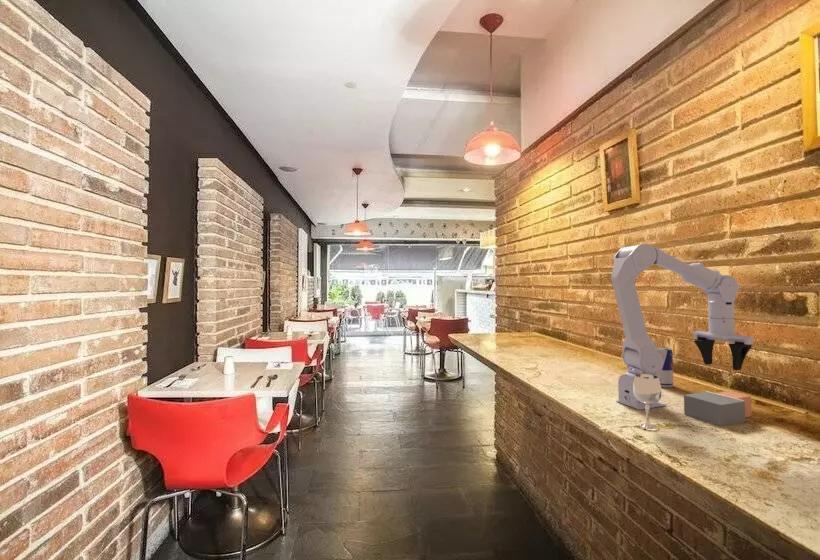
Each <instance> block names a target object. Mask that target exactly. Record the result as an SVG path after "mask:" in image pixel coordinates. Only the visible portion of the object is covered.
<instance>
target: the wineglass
mask: <svg viewBox="0 0 820 560" xmlns="http://www.w3.org/2000/svg"><path fill="white" fill-rule="evenodd" d="M633 394H634V396H635V398H636V399H637V400H639V401H640V402H642V403H645V404H646V405H645V409H644V410H645V413H646V421H645V423H640V424H641V426H642V427H644V428H647V429H658V428H659V427H658V426H656V425H654V424H651V422H650V417H649V416H650V410H651V408H650V406H649V404H653V403H656V402H660V400H661V398H662V387H661V385H660V381H659V378H658V377H657V376H655V375H649V374H637V375H635V379H634V383H633ZM653 425H654V426H653ZM657 427H658V428H657Z"/></svg>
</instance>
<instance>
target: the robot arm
mask: <svg viewBox="0 0 820 560" xmlns="http://www.w3.org/2000/svg"><path fill="white" fill-rule="evenodd" d="M612 258H613V261H614V263H613V266H612V272H611V277H610V280H611V284H612V287H613V292H614V296H615V300H616V303H617V307H618V313H619V316H620V321H621V324H622V327H623V332H624V336H625V339H624V341H623V342H622V344H621V345H622V353H621V359H622V361H623V363H624V364H625V365H626V370H627V371H626V372H625V373H623V374H620V376H619V377H618V382H617V383H618V391H617V392H618V399H616V400H615V401H616V402H617V403H620V404H622V405H625V406H629V407H631V408H634V409H637V410H639V411H640V410H645V405H646V404H645V403H642V402H640V401H639V400H637V399H636V398H635V396H634V394H633V383H634V379H635V375H637V374H649V375H655V376H657V374H658V371H659V370H660V369H661V368H662V365H663V359H662V356H661V355H660V354H659V353H658V351H657V349H656V347H657V346H656V344H655V343H654V341H653V340H652V339H651V338H650V336H649V335H648V331H647V327H646V324H645V318H644V315H643V311H642V307H641V303H640V299H639V294H638V291H637V288H636V283H635V281H636V279H637V278H638V277H639V276H640V274H641V273H642V272H644V271H646V270H647V269H649V268H650V267H651V266H654V265H655V266H658V267H660V268H662V269H665V270H668V271H670V272H673V273H675V274H679V275H681V278H682V281H684V282H685V283H688V284H690V285H693V286H695V287H697V288H699V289H701V290H702V291H703V293H705V294H706V295H707V307H708V308H707V309H708V311H707V313H708V319H707V320H708V331H704V330H703V331H701V330H695V331H694V330H693V332H692V333H693V334H692V335H693V336H692V337H693V339H694V343H695V345H696V346H697V348H698V350H699V352H700V354H701V357H702V360H703V363H704V365H706V366H708V365H712V364H713V350H714V345H715V341H721V342H727V343H729V344H728V346H729V349H730V352H731V357H732V358H731V359H732V369H733V371H741V370H742V367H743V364H744V360H745V359H746V356H747V354H748V353H749V351H750V350H751V349H752V347H753V346H752V345H754V336H749V335H748V336H747V335H742V334H736V333H735V329H736V328H735V301H736V298H737V297H736V295H737V294H738V293H739V291H740V287H741V286H740V284H738V283H739V282H738V281H737V280H736V277H733V276H732V275H728V274H726V275H725V274H723V275H722V274H721V273H720V271H719V270H716V269H715V270H712V269H710V268H709V267H706V266H705V264H704V263H702V262H693V263H687V262H684V261H683V260H680V259H679V258H678V257H675V256H672V255H671V254H669V253H668V252H665V251H663V250H662V249H660V248H659V247H658V246H657V247H656V246H653V245H651V244H649V243H641V244H638V245H632V246H623V247H621V248H620V249H619V250H618V251H617V252H616V253H615V254H614V256H613V257H612ZM649 406H650V409H653V408H659V407H666V406H667V404H666V403H664V402H661V401H658V402H656V403H653V404H649Z"/></svg>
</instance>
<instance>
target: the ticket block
mask: <svg viewBox="0 0 820 560" xmlns="http://www.w3.org/2000/svg"><path fill="white" fill-rule="evenodd" d="M716 393H717V392H712V391H708V390H704V391H702V392H695V393H688V394H683V405H684V406H683V408H684V409H683V410H684V412H683V413H684V415H686V416H688V417H690V418H695V419H697V420H701V421H704V422H706V423H710V424H713V425H716V426H719V427H726V426H729V425H731V426H732V425H736V424H741V423H746V417H745V401H744V400H740V399H736V398H732V397H728V396H724V395H720V394H716Z"/></svg>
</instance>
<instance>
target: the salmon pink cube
mask: <svg viewBox="0 0 820 560" xmlns="http://www.w3.org/2000/svg"><path fill="white" fill-rule="evenodd" d="M715 393H716V394H720V395H724V396H728V397H732V398H736V399H740V400H744V401H745V418H750V417H752V396H751V395H748V394H743V393H739V392H735V391H730V390H728V391H720V392H715Z"/></svg>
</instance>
